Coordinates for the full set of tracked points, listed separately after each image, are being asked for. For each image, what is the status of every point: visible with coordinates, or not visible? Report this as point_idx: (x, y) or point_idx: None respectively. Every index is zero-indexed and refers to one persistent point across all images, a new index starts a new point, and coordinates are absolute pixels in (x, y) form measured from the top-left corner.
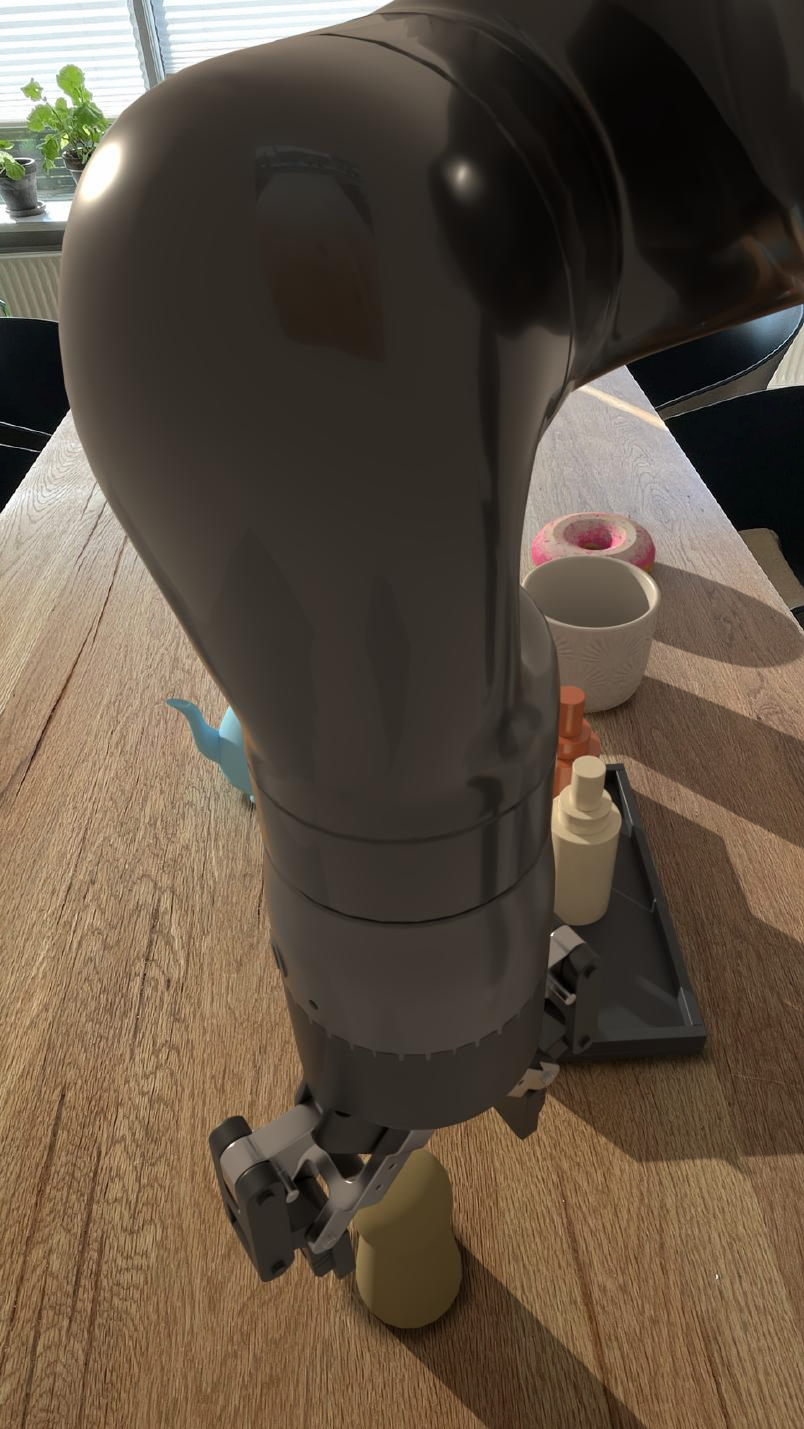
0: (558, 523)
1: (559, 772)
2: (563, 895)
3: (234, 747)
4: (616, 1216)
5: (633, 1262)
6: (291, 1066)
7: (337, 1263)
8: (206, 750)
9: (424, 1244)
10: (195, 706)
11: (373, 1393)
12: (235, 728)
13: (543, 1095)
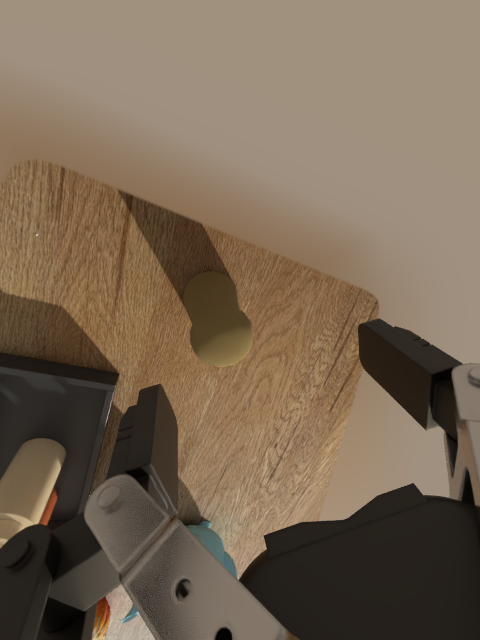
0: None
1: None
2: (47, 464)
3: None
4: (88, 284)
5: (87, 259)
6: (233, 398)
7: (407, 337)
8: (230, 563)
9: (219, 308)
10: None
11: (246, 252)
12: None
13: (120, 433)
